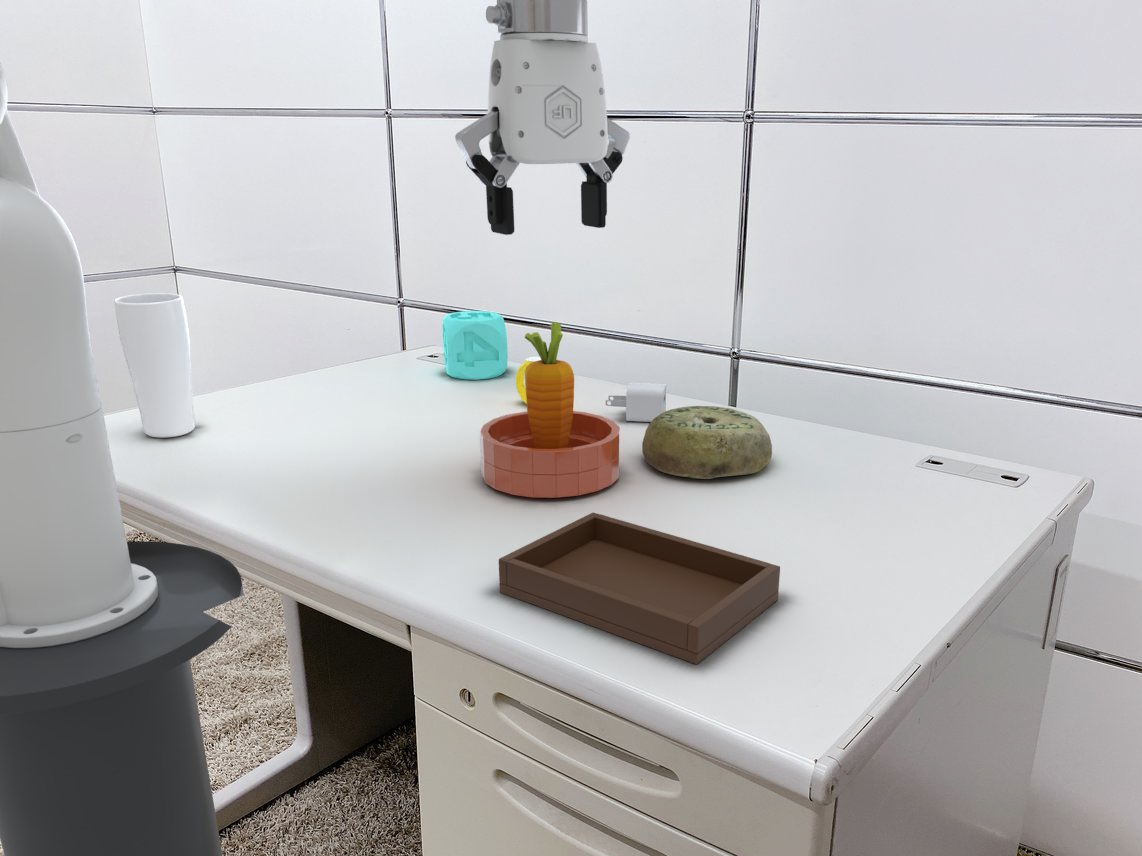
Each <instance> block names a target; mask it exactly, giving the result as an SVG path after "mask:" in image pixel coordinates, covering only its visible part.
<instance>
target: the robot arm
mask: <svg viewBox="0 0 1142 856" xmlns="http://www.w3.org/2000/svg"><path fill="white" fill-rule="evenodd" d="M588 13H589V12H588V0H496V4H495V5H488V6H487V7H486V9H485V19H486V22H487V23H488V24H494V25H496V26H497V34H499V39H497V40H494V41H493V46H492V53H491V59H490V66H489V77H488V90H487V114H485V115H483V116H482V117H479V118H478V119H477V120H475V121H474V122H472V123H471V124H469V125H467V126H466V127H464V128H463V129H461V130H459V131H458V132H457V133H456V134H455V136H454V140H455V143H456V144H457V146H458V149H459V151H460V152H461V154H462V157H463V158H464V159H465V164H466V167H467V168H469V170H470V171H471V172H472V173H473V174H474V176H476V177H477V178H478V180H479V182H480V184H481V185H482V186H483V187H485V194H486V195H485V197H486V214H487V215H486V216H487V221H488V223H489V225H490V230H491V232H492V233H495V234H500V235H506V236H508V235H510V236H512V235H513V234H514V233H515V212H514V211H515V209H514V190H513V188H512V187H509V186H508V182H509V180H510V179H511V177H512V176H513V174H514V173H515V171H516V170H517V168H518V166H519V165H520V164H524V165H555V164H556V165H561V164H576V165H577V167H578V168H579V170H580V172H581V173H582V174H583V176H584V177H585V178H586V181H581V184H580V210H581V211H580V212H581V213H580V215H581V217H580V219H581V224H582V225H583V226H586V227H591V228H597V229H603V228H605V227H606V225H607V224H606V223H607V221H606V219H607V218H606V217H607V214H608V184H609V183H611V182H612V181H613V176H614V173H615V172H616V171H617V170H618V168H619V167H620V165H621V164H622V162H623V159H624V158H623V155H624V154H625V152H626V149H627V147H628V144H629V142H630V139H631V134H630V132H629V130H626V129H625V128H623V127H622V126H620V125H619V124H618V123H616V122H615V121H613V120H612V119H610V118H608V113H607V99H606V91H605V81H604V74H603V70H602V64H601V58H600V55H599V54H600V53H599V50H598V46H597V43H596V42H589V37H588V35H589V24H588V19H589V18H588ZM6 78H7V77H6V74H5V72H4V69H3V66H2V64H1V62H0V647H5V648H40V647H50V646H57V645H62V644H68V643H73V642H77V641H81V640H85V639H89V638H92V637H95V636H98V635H101V634H104V633H107V632H109V631H112V630H114V629H116V628H119V627H121V626H123V625H125V624H127V623H129V622H130V621H132V620H134V619H136V618H137V617H139V616H140V615H141V614H143V613H144V612H146V611H147V610H148V609H149V607H150V606H151V605H152V604H153V603H154V602H155V600H156V598H157V597H158V585H157V580H156V577H155V576H154V574H153V573H152V572H151V571H149V570H148V569H146V568H144V567H142V566H139V565H136V564H132V563H131V562H130V557H129V551H128V546H127V542H128V541H127V534H126V530H125V524H124V519H123V514H122V508H121V502H120V497H119V492H118V487H117V481H116V475H115V469H114V465H113V459H112V454H111V448H110V442H109V438H108V437H109V436H108V432H107V431H108V430H107V427H106V426H107V425H106V421H105V415H104V410H103V405H102V404H103V403H102V399H101V394H100V388H99V384H98V377H97V372H96V366H95V360H94V355H93V348H92V340H91V333H90V325H89V319H88V318H89V316H88V306H87V305H88V304H87V296H86V295H87V294H86V287H85V278H84V272H83V266H82V262H81V257H80V254H79V250H78V247H77V244H76V242H75V239H74V237H73V235H72V232H71V231H70V228H69V227H68V225H67V223H66V222H65V220H64V219H63V218H62V216H61V215H60V214H59V212H57V210H56V209H55V208H54V207H53V206H52V205H51V204H50V203H49V202H47V201H46V200H45V199H44V198H43V197H42V196H41V194H40V192H39V189H38V186H37V183H36V181H35V179H34V175H33V173H32V170H31V168H30V166H29V163H28V161H27V158H26V157H27V156H26V155H25V152H24V150H23V147H22V144H21V142H20V139H19V137H18V134H17V131H16V129H15V126H14V124H13V121H12V117H11V116H10V113H9V111H8V96H9V90H8V85H7V79H6ZM486 137H487V138H488V147H489V148H488V149H489V152H490V155H491V156H492V157H491V158H490V159H487V158H486V157H485V155H483V153H482V149H481V148H480V142H481V141H482V140H483V139H484V138H486Z"/></svg>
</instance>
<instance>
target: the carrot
mask: <svg viewBox="0 0 1142 856" xmlns="http://www.w3.org/2000/svg"><path fill="white" fill-rule="evenodd" d="M563 336H564V334H563V333H562V324H561V323H559V322H558V321H552V322H551V327H550V342H549V345H548V346H547V342H546V341H544V340H543V338H542V336H541V334H540V333H539V331H538V332H537V331H536V332H535V331H534V332H532V333H529V332H526V333H525V335H524V339H525V340H527V341H528V342H530V343H531V345H532V346H533V347H534V349H535V350H536V352H537V354H538V357H540V358H541V360H539V361H535V362H532V363H530V364H529V365H528V366H527V367H526V370H525V374H524V385H525V388H526V400H527V404H526V411H527V412H528V418H529V423H530V428H531V433H532V437H533V442H534V446H535V448H536V449H559V448H567V445H568V441H569V436H570V431H571V425H572V419H573V411H574V405H575V404H574V403H575V401H574V400H575V374H574V370H573V368H572V366H571V364H569V363H568V362H567V361H564V360H559V359H558V353H559V348H560V343H561V341H562V338H563Z"/></svg>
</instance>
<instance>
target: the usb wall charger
mask: <svg viewBox="0 0 1142 856" xmlns="http://www.w3.org/2000/svg"><path fill="white" fill-rule="evenodd" d="M611 398H613V399H611ZM608 402H610V404H608ZM605 406H606V407H618V408H625V421H626V422H641V423H642V422H643V423H651V422H652V420H653V419H654V418H656V417H657V416H659V415H660V414H661V413H663V412H666V411H667V383H652V382H650V383H649V382H629V384H628V386H627V388H626V393H625V395H615V394H614V395H608V396H607V399H605Z"/></svg>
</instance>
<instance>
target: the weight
mask: <svg viewBox="0 0 1142 856" xmlns="http://www.w3.org/2000/svg"><path fill="white" fill-rule="evenodd" d="M641 443H642V444H641V445H642V449H641V450H642V455H643V457H644V459H645V461H646V463H648V464H649V466H652V467H653V468H654V469H656V470H657V471H659V472H661V473H664V474H668V475H672V476H676V477H685V478H691V479H699V480H700V479H701V480H711V479H715V478H721V477H723V478H724V477H732V476H733V477H734V476H742V475H743V476H744V475H751V474H755V473H759V472H760V471H762V470H763V468H765V467H766V466H767V465H768V464H769V463H770V461H771V459H772V456H773V445H772V439H771V437H770V434H769V432H768V431H767V429H766V428H765V426H764V425H763V423H762V422H761V421H760V420H758V418H756V417H755V416H753V415H752V414H749V413H747V412H744V411H741V410H737V409H734V408H730V407H724V406H715V405H691V406H689V405H688V406H682V407H677V408H672V409H668V410H666V412H663V413H661V414H660V415H659V416H657V417H656V418H654V419H653V420H652V422H649V424H648V425H647V427H646V429H645V433H644V435H643V439H642V442H641Z"/></svg>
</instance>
